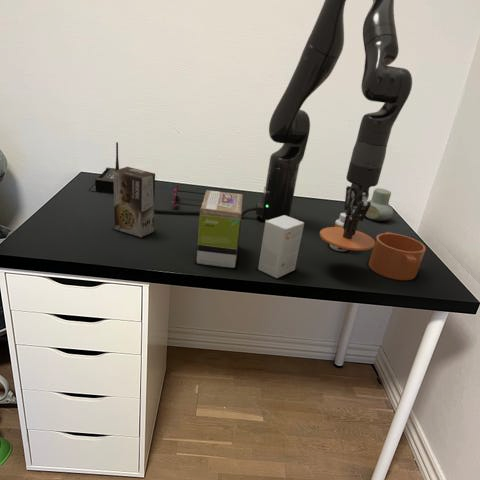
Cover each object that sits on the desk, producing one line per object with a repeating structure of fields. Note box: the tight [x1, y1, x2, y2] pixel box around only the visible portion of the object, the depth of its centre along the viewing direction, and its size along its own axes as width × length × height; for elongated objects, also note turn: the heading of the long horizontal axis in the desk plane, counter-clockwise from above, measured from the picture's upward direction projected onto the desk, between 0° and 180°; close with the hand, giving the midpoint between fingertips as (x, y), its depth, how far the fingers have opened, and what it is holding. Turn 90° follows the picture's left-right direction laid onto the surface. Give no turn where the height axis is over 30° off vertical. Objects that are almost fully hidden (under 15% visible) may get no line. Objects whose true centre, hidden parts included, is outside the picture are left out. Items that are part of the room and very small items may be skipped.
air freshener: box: [365, 187, 394, 222], centre depth 166 cm, size 11×8×10 cm
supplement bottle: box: [329, 212, 349, 252], centre depth 136 cm, size 6×6×10 cm
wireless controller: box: [90, 141, 120, 195], centre depth 155 cm, size 20×14×17 cm
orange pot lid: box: [319, 215, 375, 251], centre depth 119 cm, size 14×14×7 cm
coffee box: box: [113, 166, 156, 238], centre depth 126 cm, size 9×6×16 cm
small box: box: [257, 215, 305, 279], centre depth 117 cm, size 8×6×13 cm
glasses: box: [171, 185, 206, 210], centre depth 153 cm, size 14×16×5 cm
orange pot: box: [368, 231, 427, 281], centre depth 128 cm, size 13×18×8 cm
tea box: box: [196, 189, 244, 269], centre depth 120 cm, size 15×10×15 cm, turn 178°
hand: (348, 231), depth 119 cm, fingers closed on orange pot lid, 2 cm apart
